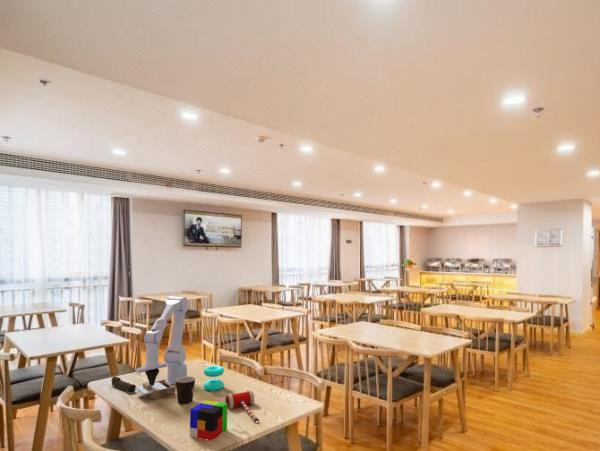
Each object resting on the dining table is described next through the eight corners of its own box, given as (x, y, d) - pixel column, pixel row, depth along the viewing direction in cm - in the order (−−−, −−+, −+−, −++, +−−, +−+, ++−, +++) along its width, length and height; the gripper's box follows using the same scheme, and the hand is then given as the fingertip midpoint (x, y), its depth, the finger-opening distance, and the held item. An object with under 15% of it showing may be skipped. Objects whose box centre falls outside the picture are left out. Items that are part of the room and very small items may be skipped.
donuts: (222, 371, 198) (201, 371, 197) (222, 391, 197) (201, 391, 197) (225, 365, 208) (206, 365, 207) (225, 384, 207) (205, 384, 207)
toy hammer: (270, 420, 166) (270, 405, 166) (243, 426, 160) (243, 410, 160) (249, 401, 186) (249, 387, 186) (224, 406, 180) (225, 392, 180)
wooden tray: (164, 387, 203) (164, 379, 203) (175, 394, 193) (175, 386, 193) (142, 392, 195) (142, 384, 196) (152, 400, 186) (152, 391, 186)
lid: (158, 383, 200) (158, 377, 200) (167, 389, 191) (167, 383, 191) (135, 388, 193) (135, 382, 193) (144, 394, 184) (144, 389, 184)
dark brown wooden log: (136, 392, 196) (136, 382, 197) (128, 394, 193) (128, 384, 194) (117, 383, 208) (117, 374, 209) (109, 385, 205) (109, 376, 206)
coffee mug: (184, 396, 190) (184, 375, 191) (198, 400, 186) (199, 378, 187) (166, 405, 180) (166, 382, 180) (181, 409, 176) (181, 385, 176)
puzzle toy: (189, 436, 151) (190, 409, 152) (205, 425, 160) (205, 399, 161) (212, 441, 147) (213, 413, 148) (226, 429, 157) (227, 403, 157)
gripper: (162, 351, 201) (161, 379, 200) (133, 357, 190) (132, 387, 189) (169, 354, 196) (168, 383, 195) (140, 360, 185) (139, 390, 185)
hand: (151, 385), depth 192 cm, fingers closed
